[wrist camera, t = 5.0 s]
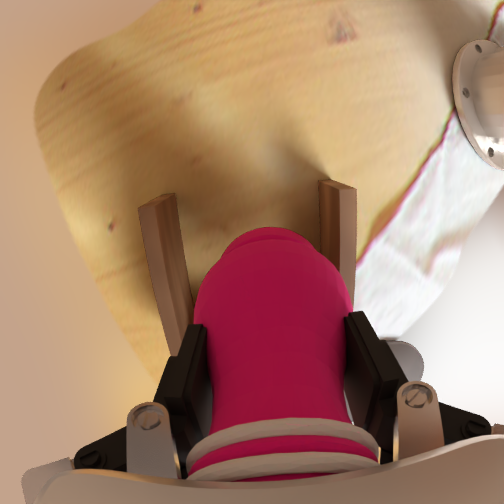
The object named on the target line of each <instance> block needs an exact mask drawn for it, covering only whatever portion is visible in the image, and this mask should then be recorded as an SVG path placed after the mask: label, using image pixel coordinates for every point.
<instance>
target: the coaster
mask: <svg viewBox="0 0 504 504" xmlns="http://www.w3.org/2000/svg"><path fill="white" fill-rule="evenodd" d="M386 342H387V343H388V345H389V347H390V348H391V350H392V352H393V354H394V356H395V357H396V359H397V361H398V363H399V365H400V366H401V368H402V370H403V372H404V374H405V375H406V377H407V379H408V381H409V382H411V381H420V380H421V378H422V375H423V371H424V362H423V358H422V356H421V354H420V353H419V352H418V350H417V349H416V348H415V347H414V346H412V345H411V344H409V343H406V342H403V341H386ZM344 396H345V401H346V406H347V412H348V415H349V418H350V420H351V422H353V418H352V415H351V411H350V408H349V405H348V401H347V398H346V395H345V391H344Z"/></svg>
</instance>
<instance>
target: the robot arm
mask: <svg viewBox="0 0 504 504" xmlns="http://www.w3.org/2000/svg"><path fill="white" fill-rule="evenodd" d="M452 81H453V93H454V100H455V105H456V108H457V112H458V116H459V119H460V121H461V124H462V127H463V129H464V132H465V133H466V135H467V137H468V139H469V142H470V143H471V145H472V146H473V148H474V149H475V151H476V152H477V153H478V155H479V156H480V157H481V158H482V159H483V160H484V161H485V162H486V163H488V164H489V165H490V166H492V167H494V168H496V169H499V170H504V46H503V47H500V46H499V45H498V44H496V43H493V42H491V41H488V40H483V39H481V40H475V41H472V42H469V43H467V44H465V45H464V46H463V47H462V48H461V49H460V51H459V52H458V54H457V55H456V59H455V62H454V65H453V74H452ZM344 324H345V333H346V361H347V364H346V370H345V374H344V391H345V395H346V398H347V401H348V405H349V408H350V411H351V415H352V418H353V422H354V425H355V426H357V427H360V428H362V429H364V430H365V431H367V432H368V433H369V434H371V435H372V437H373V438H374V439H375V441H376V442H377V444H378V448H379V458H378V463H379V464H380V465H379V466H375V467H370V468H366V469H361V470H356V471H351V472H345V473H339V474H333V475H327V476H320V477H312V478H304V479H293V480H281V481H263V482H213V481H196V480H186V479H187V478H188V473H187V469H186V460H187V456H188V454H189V452H190V451H191V450H192V449H193V447H194V446H195V445H196V444H197V443H199V442H200V441H202V440H203V439H204V438H206V437H208V435H209V431H210V427H211V423H212V401H213V395H212V388H211V382H210V377H209V373H208V366H207V328H206V327H203V324H188V326H187V329H186V332H185V335H184V337H183V340H182V343H181V346H180V349H179V352H178V355H177V356H170V357H169V359H168V361H167V364H166V366H165V369H164V372H163V375H162V377H161V380H160V383H159V386H158V389H157V392H156V394H155V397H154V400H153V402H145V403H142V404H139V405H137V406H135V407H134V408H133V409H132V410H131V411H130V412H129V414H128V417H127V426H125V427H123V428H121V429H119V430H118V431H115V432H114V433H111V434H109V435H107V436H105V437H103V438H102V439H99V440H97V441H95V442H93V443H91V444H89V445H86V446H84V447H83V448H81V449H80V450H79V451H78V452H77V453H76V455H75V457H74V459H70V458H69V457H67V458H64V459H61V460H59V461H55V462H52V463H49V464H46V465H42V466H39V467H36V468H32V469H30V470H28V471H26V472H25V473H24V475H23V477H22V488H23V493H24V497H25V501H26V504H504V425H500V424H494V426H491V425H490V423H489V422H488V421H487V420H486V419H485V418H484V417H482V416H480V415H477V414H473V413H470V412H467V411H464V410H461V409H458V408H455V407H452V406H449V405H446V404H444V403H441V402H438V398H437V394H436V391H435V390H434V389H433V387H432V386H430V385H429V384H427V383H425V382H422V381H411V382H409V381H408V379H407V377H406V375H405V374H404V372H403V370H402V368H401V366H400V365H399V363H398V361H397V359H396V357H395V356H394V354H393V352H392V350H391V348H390V347H389V345H388V343H387V342H386V341H385V340H379V338H378V337H377V335H376V333H375V331H374V329H373V328H372V326H371V324H370V322H369V321H368V319H367V317H366V315H365V314H364V312H363V311H357V312H349V313H348V316H345V317H344Z"/></svg>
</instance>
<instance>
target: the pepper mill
mask: <svg viewBox="0 0 504 504" xmlns="http://www.w3.org/2000/svg"><path fill="white" fill-rule="evenodd" d="M349 312H353V307H352V303H351V299H350V296H349V293H348V290H347V287H346V285H345V282H344V280H343V278H342V276H341V274H340V273H339V272H338V270H337V269H336V267H335V266H334V265H333V264H332V263H331V262H330V261H329V260H328V259H327V258H326V257H324V256H323V255H322V254H320V253H319V252H317V251H316V250H315V248H314V247H313V246H312V244H311V243H310V242H309V241H307V240H306V239H305V238H304V237H302V236H301V235H299V234H297V233H295V232H293V231H291V230H288V229H284V228H276V227H264V228H258V229H254V230H251V231H249V232H246V233H244V234H242V235H241V236H239V237H238V238H236V239H235V240H234V241H233V242H232V243H231V244H230V245H229V246H228V247H227V249H226V250H225V252H224V253H223V255H222V257H221V259H220V260H219V261H218V262H217V263H216V264H215V265H214V266H213V267H212V268H211V269H210V271H209V272H208V273H207V275H206V276H205V278H204V280H203V282H202V284H201V286H200V288H199V292H198V296H197V300H196V304H195V308H194V324H203V327H206V328H207V366H208V373H209V377H210V382H211V388H212V395H213V401H212V423H211V427H210V431H209V435H208V437H206V438H204V439H203V440H202V441H200V442H199V443H197V444H196V445H195V446H194V447H193V449H192V450H191V451H190V452H189V454H188V456H187V460H186V469H187V473H188V478H187V479H186V480H196V481H213V482H263V481H281V480H293V479H304V478H312V477H320V476H327V475H333V474H339V473H345V472H351V471H356V470H361V469H366V468H370V467H375V466H379V465H380V464H379V463H378V458H379V448H378V444H377V442H376V441H375V439H374V438H373V437H372V435H371V434H369V433H368V432H367V431H365V430H364V429H362V428H360V427H357V426H355V425H353V424H352V422H351V420H350V418H349V415H348V412H347V406H346V401H345V396H344V374H345V370H346V364H347V361H346V333H345V324H344V317H345V316H348V313H349Z"/></svg>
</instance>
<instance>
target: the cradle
mask: <svg viewBox="0 0 504 504" xmlns="http://www.w3.org/2000/svg"><path fill="white" fill-rule="evenodd" d="M318 182H319V205H320V242H321V254H322V255H323V256H324V257H326V258H327V259H328V260H329V261H330V262H331V263H332V264H333V265H334V266H335V267H336V269H337V270H338V272H339V273H340V274H341V276H342V278H343V280H344V282H345V285H346V287H347V290H348V293H349V296H350V299H351V303H352V307H353V304H354V290H355V271H356V241H357V191H356V189H355V188H353V187H350V186H347V185H345V184H342V183H339V182H337V181H334V180H318ZM138 212H139V218H140V224H141V230H142V235H143V241H144V246H145V251H146V256H147V261H148V266H149V271H150V275H151V280H152V284H153V289H154V293H155V297H156V301H157V306H158V310H159V314H160V318H161V321H162V325H163V329H164V333H165V336H166V340H167V344H168V347H169V351H170V354H171V356H177V355H178V352H179V349H180V346H181V343H182V340H183V337H184V335H185V332H186V329H187V326H188V324H194V306H193V301H192V296H191V290H190V285H189V279H188V273H187V268H186V262H185V256H184V250H183V243H182V237H181V230H180V224H179V217H178V210H177V202H176V195H175V193H173V194H165V195H161V196H159V197H157V198H155V199H154V200H152V201H150V202H148V203H146V204H145V205H143V206H141V207H139V208H138Z"/></svg>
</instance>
